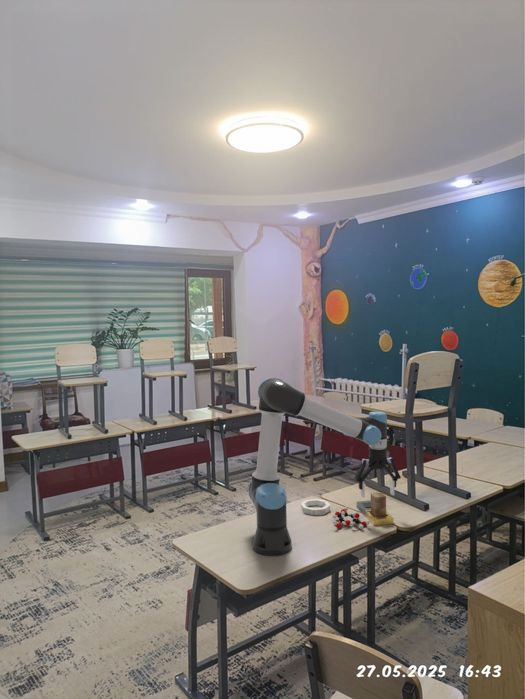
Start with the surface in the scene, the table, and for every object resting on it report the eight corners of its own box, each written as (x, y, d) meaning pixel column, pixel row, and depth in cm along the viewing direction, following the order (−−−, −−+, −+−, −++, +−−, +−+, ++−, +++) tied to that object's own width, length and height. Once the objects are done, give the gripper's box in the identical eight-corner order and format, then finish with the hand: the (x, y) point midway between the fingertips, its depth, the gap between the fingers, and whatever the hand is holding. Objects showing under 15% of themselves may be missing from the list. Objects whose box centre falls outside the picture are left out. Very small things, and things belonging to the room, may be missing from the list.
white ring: (305, 516, 220) (305, 510, 220) (299, 505, 232) (299, 500, 232) (332, 513, 222) (332, 508, 222) (324, 503, 234) (324, 498, 234)
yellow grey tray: (373, 525, 208) (373, 519, 208) (356, 506, 229) (356, 501, 229) (393, 523, 210) (393, 517, 210) (374, 505, 230) (374, 499, 230)
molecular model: (334, 516, 219) (368, 510, 216) (337, 540, 209) (372, 535, 206) (330, 501, 214) (364, 496, 211) (332, 526, 203) (368, 520, 201)
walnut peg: (375, 522, 212) (375, 497, 211) (370, 517, 217) (370, 493, 216) (386, 521, 212) (386, 496, 212) (381, 516, 217) (381, 492, 217)
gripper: (353, 451, 207) (352, 500, 208) (408, 448, 210) (408, 496, 212) (347, 446, 214) (347, 494, 215) (401, 444, 218) (400, 490, 219)
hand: (377, 495), depth 214 cm, fingers open, 13 cm apart
